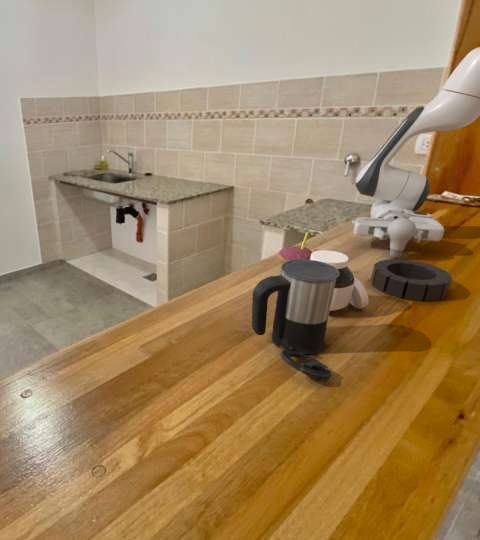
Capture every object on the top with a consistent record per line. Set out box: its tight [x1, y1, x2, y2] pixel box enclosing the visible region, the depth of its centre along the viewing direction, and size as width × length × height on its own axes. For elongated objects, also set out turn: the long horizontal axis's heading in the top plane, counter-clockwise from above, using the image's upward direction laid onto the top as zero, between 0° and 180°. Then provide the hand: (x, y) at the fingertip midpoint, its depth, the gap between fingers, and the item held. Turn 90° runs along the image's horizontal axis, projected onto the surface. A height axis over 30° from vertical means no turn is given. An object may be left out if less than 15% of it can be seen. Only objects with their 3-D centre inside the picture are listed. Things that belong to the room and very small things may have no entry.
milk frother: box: [251, 259, 339, 381], centre depth 65 cm, size 14×16×15 cm
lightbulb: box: [387, 218, 416, 259], centre depth 100 cm, size 6×6×11 cm
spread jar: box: [310, 249, 369, 315], centre depth 80 cm, size 12×11×12 cm
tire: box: [370, 258, 453, 303], centre depth 87 cm, size 14×14×4 cm
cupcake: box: [277, 229, 314, 265], centre depth 95 cm, size 9×8×12 cm
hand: (400, 238), depth 99 cm, fingers closed on lightbulb, 6 cm apart
